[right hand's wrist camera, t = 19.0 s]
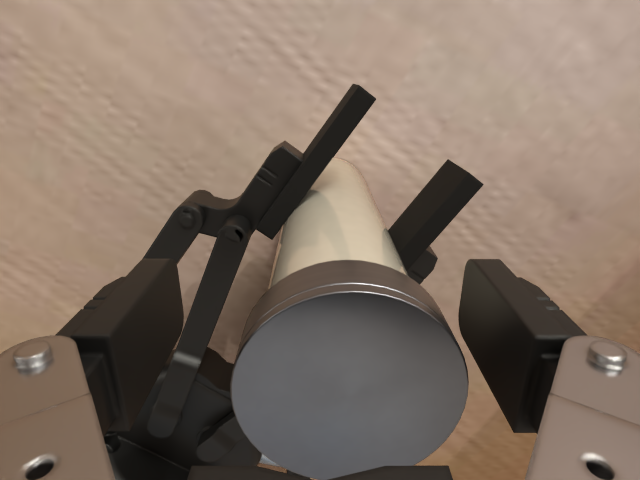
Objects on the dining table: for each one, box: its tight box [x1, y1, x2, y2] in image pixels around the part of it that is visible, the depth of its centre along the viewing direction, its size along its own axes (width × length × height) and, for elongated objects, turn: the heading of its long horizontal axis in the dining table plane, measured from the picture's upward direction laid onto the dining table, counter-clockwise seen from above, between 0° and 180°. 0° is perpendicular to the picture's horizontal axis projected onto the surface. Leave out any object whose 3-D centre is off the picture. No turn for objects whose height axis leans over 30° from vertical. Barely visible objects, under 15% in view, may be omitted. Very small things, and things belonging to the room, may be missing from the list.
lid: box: [230, 260, 469, 480], centre depth 10 cm, size 5×5×2 cm
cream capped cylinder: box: [267, 158, 409, 291], centre depth 17 cm, size 4×4×15 cm
